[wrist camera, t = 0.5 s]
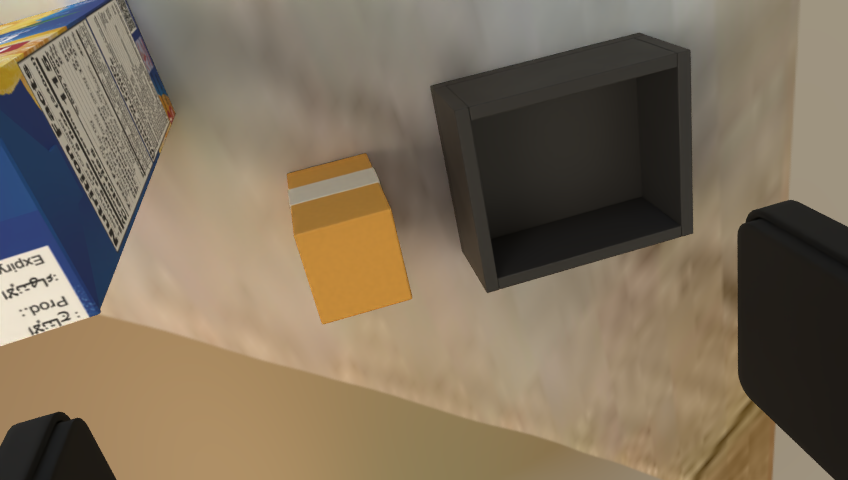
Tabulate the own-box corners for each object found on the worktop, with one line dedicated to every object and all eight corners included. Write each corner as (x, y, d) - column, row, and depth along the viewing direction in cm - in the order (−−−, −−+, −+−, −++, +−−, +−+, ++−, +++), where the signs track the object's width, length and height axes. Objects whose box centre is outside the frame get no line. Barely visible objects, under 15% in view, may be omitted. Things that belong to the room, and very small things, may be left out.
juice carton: (285, 172, 42) (292, 234, 34) (366, 151, 43) (391, 207, 35) (309, 252, 45) (321, 326, 37) (386, 231, 45) (413, 299, 37)
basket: (462, 251, 47) (487, 293, 42) (430, 85, 42) (454, 110, 37) (647, 199, 49) (693, 233, 44) (639, 32, 43) (691, 49, 38)
